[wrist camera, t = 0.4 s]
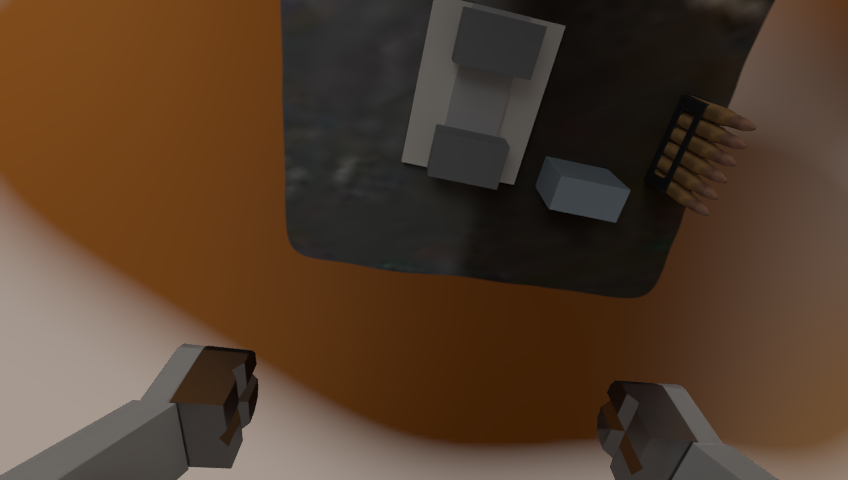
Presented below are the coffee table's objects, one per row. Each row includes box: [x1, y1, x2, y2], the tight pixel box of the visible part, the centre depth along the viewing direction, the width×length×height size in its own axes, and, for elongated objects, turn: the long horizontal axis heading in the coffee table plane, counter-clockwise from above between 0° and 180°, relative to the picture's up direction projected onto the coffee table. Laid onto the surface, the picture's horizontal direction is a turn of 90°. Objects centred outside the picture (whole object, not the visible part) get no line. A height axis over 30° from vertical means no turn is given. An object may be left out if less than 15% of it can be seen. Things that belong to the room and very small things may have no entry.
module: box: [535, 156, 631, 223], centre depth 53 cm, size 4×8×7 cm, turn 78°
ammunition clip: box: [644, 93, 756, 216], centre depth 49 cm, size 11×2×12 cm, turn 169°
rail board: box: [401, 0, 566, 190], centre depth 49 cm, size 18×14×6 cm
